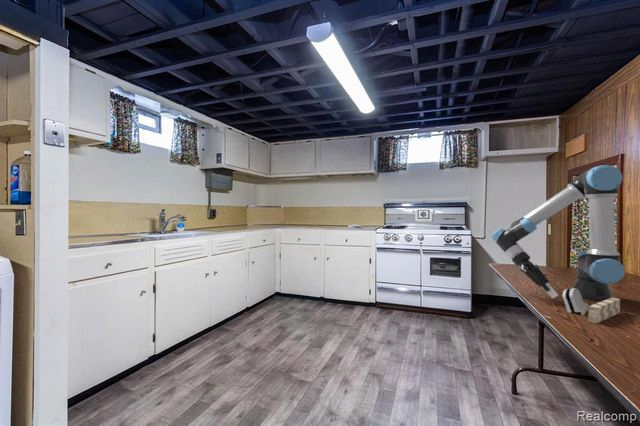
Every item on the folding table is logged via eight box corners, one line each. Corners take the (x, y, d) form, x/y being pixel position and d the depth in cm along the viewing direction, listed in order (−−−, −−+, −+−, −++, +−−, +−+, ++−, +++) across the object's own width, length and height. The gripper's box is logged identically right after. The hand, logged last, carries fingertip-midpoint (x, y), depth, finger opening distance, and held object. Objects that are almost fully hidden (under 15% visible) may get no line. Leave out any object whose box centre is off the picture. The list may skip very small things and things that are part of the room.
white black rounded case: (583, 315, 124) (573, 291, 126) (569, 316, 127) (560, 292, 129) (589, 307, 135) (580, 285, 137) (576, 308, 138) (567, 286, 140)
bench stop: (611, 311, 130) (612, 297, 130) (619, 312, 128) (620, 298, 128) (588, 321, 117) (588, 306, 117) (596, 323, 115) (597, 308, 115)
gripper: (518, 258, 158) (555, 299, 144) (505, 260, 151) (542, 302, 137) (530, 250, 153) (569, 290, 139) (517, 251, 146) (556, 294, 132)
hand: (555, 296), depth 138 cm, fingers closed
